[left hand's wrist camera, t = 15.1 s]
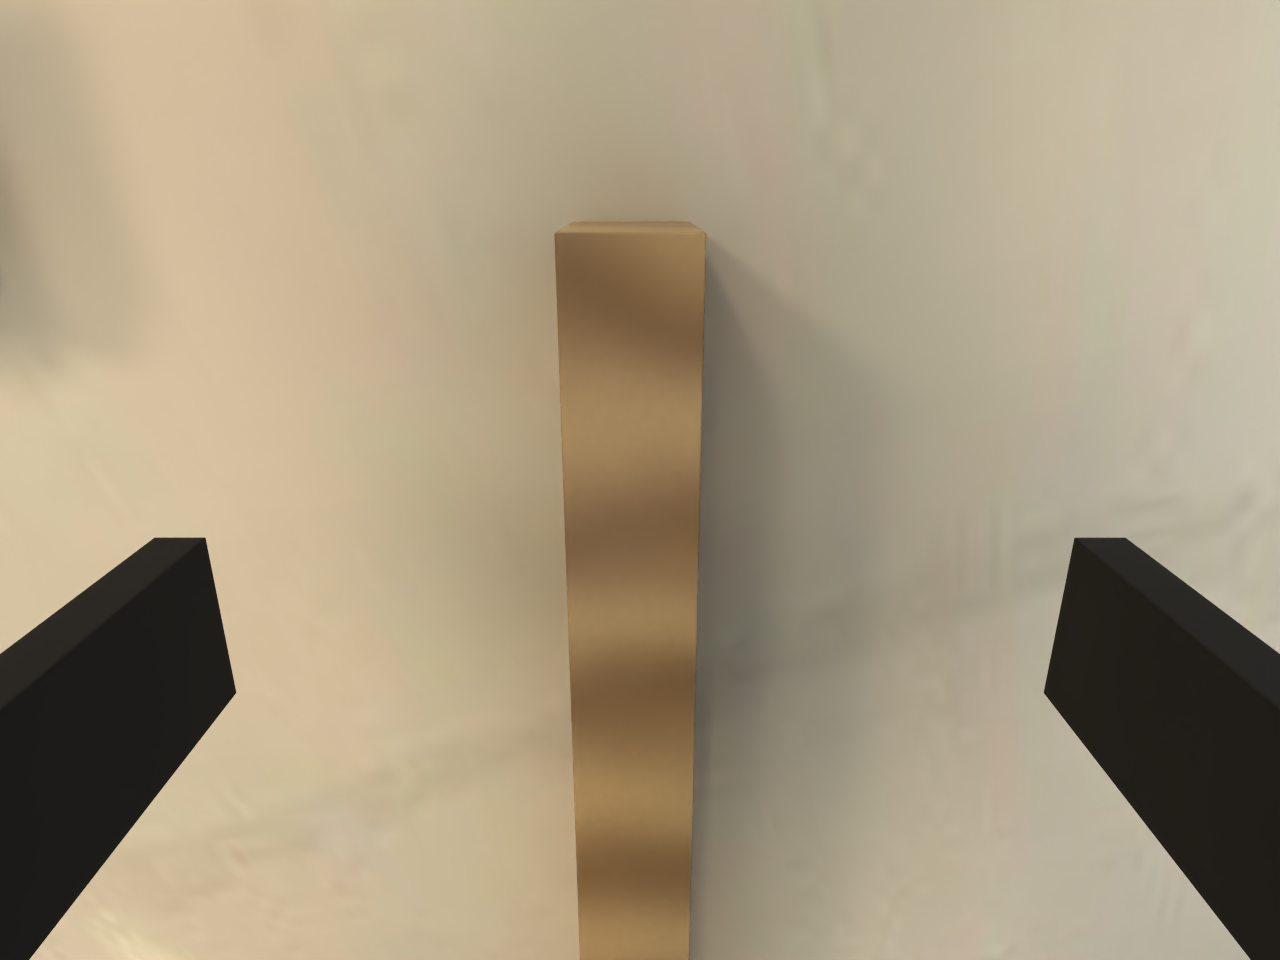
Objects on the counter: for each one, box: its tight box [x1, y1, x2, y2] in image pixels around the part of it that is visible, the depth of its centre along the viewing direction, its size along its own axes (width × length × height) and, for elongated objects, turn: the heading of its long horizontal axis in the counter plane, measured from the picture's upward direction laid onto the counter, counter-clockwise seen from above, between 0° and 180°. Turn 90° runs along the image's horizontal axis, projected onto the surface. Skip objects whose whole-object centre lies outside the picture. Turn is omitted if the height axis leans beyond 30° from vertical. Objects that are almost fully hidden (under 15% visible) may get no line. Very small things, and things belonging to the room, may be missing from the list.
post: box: [555, 222, 706, 960], centre depth 38 cm, size 51×5×8 cm, turn 0°
